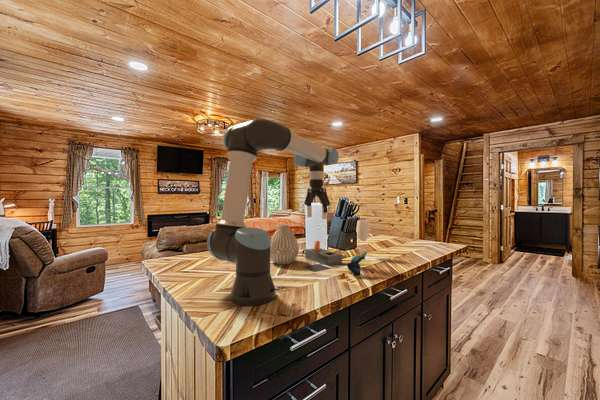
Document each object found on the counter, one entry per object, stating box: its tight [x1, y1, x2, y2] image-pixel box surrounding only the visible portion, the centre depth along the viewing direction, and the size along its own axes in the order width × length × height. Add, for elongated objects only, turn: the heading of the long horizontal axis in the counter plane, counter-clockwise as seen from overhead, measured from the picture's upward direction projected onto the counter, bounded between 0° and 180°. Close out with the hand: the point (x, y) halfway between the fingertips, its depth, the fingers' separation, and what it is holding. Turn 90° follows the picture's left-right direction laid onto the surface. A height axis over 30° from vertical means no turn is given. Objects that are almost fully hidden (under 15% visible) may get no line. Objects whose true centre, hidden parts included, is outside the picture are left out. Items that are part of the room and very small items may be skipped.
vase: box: [270, 223, 300, 266], centre depth 134 cm, size 16×16×20 cm
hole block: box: [305, 247, 343, 267], centre depth 137 cm, size 20×9×5 cm, turn 33°
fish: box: [346, 251, 368, 276], centre depth 114 cm, size 4×10×10 cm, turn 112°
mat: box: [302, 263, 332, 273], centre depth 124 cm, size 10×10×1 cm
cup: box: [356, 219, 371, 242], centre depth 147 cm, size 7×7×21 cm
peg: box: [313, 240, 321, 251], centre depth 142 cm, size 3×3×10 cm
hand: (316, 218), depth 142 cm, fingers open, 13 cm apart
